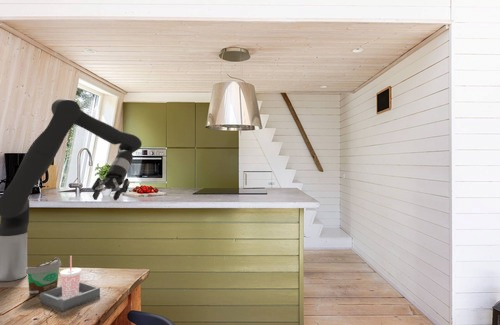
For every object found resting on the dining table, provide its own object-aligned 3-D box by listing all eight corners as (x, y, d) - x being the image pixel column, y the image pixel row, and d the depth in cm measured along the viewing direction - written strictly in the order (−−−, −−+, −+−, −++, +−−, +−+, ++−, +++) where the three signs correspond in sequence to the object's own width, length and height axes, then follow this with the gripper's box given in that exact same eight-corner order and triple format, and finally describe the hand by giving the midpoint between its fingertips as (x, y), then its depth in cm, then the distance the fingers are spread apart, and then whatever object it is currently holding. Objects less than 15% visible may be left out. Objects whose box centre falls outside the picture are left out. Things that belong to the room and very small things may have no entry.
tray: (40, 302, 103) (40, 293, 103) (77, 288, 114) (77, 280, 114) (63, 311, 97) (63, 301, 97) (99, 296, 108) (99, 287, 108)
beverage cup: (55, 301, 102) (56, 258, 102) (65, 293, 108) (66, 253, 108) (75, 301, 102) (75, 258, 102) (84, 293, 108) (84, 253, 108)
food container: (41, 299, 105) (41, 269, 105) (25, 297, 107) (26, 267, 107) (69, 284, 117) (69, 258, 117) (55, 283, 119) (55, 256, 119)
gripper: (99, 164, 138) (84, 192, 127) (131, 164, 137) (118, 193, 126) (106, 175, 143) (91, 204, 132) (136, 176, 142) (124, 205, 131)
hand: (104, 199), depth 129 cm, fingers open, 8 cm apart
